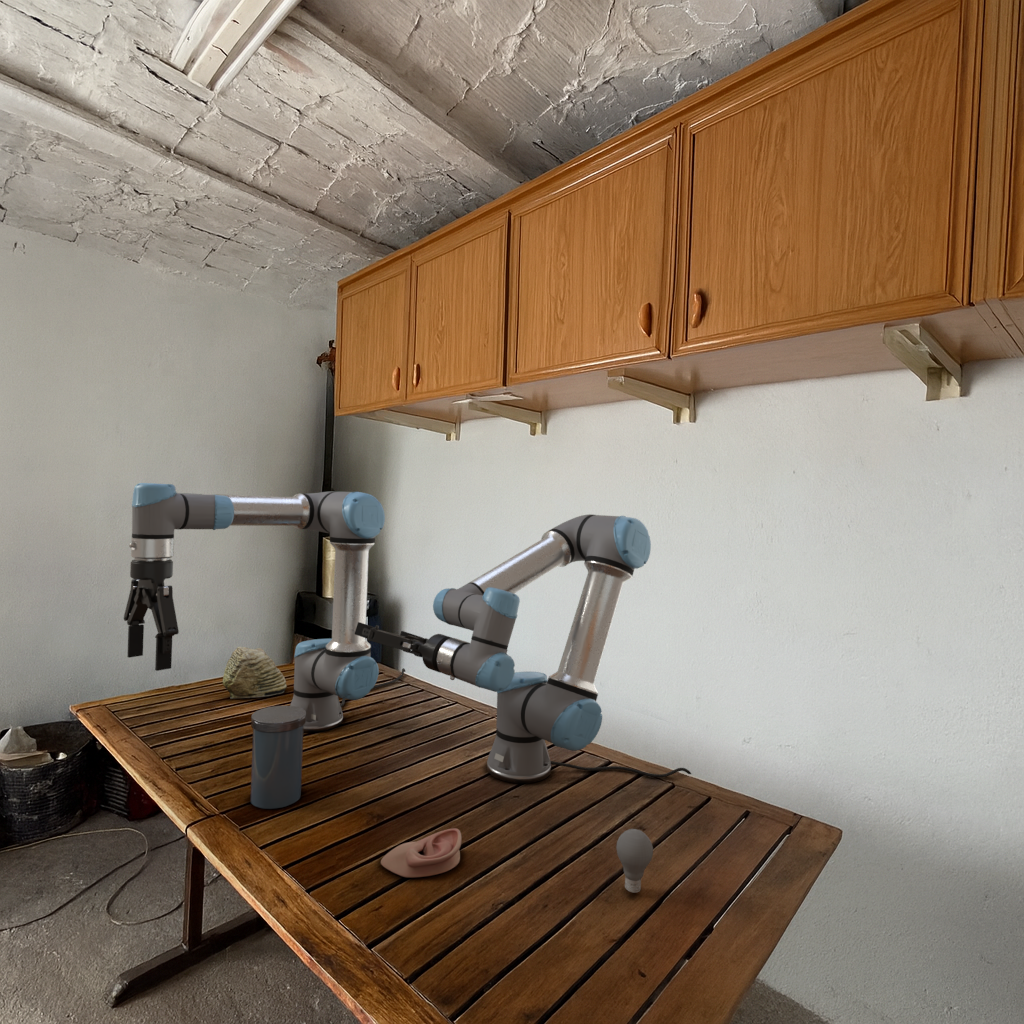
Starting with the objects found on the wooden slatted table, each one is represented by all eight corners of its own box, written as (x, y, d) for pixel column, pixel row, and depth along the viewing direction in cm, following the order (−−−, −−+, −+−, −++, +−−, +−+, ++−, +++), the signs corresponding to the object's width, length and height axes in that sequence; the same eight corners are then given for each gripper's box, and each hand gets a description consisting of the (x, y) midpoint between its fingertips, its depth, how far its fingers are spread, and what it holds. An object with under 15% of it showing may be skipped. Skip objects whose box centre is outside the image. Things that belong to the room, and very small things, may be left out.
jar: (308, 788, 137) (311, 709, 137) (289, 810, 127) (293, 725, 127) (263, 785, 138) (266, 707, 138) (241, 807, 128) (244, 722, 128)
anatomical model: (374, 849, 108) (399, 816, 119) (373, 872, 108) (398, 837, 119) (448, 861, 105) (467, 826, 116) (447, 885, 105) (466, 848, 116)
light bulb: (610, 879, 108) (613, 822, 108) (644, 879, 109) (647, 822, 109) (619, 902, 102) (622, 840, 102) (655, 901, 103) (658, 840, 103)
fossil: (218, 695, 195) (220, 647, 195) (278, 685, 208) (279, 640, 207) (228, 703, 189) (230, 653, 188) (289, 692, 201) (290, 645, 201)
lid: (313, 715, 137) (313, 707, 137) (293, 734, 127) (294, 724, 127) (264, 713, 138) (265, 704, 138) (241, 730, 127) (241, 721, 127)
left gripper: (108, 554, 134) (104, 654, 134) (159, 565, 118) (155, 678, 119) (146, 552, 140) (143, 648, 140) (199, 563, 124) (195, 671, 124)
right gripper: (400, 667, 121) (332, 641, 134) (478, 678, 140) (412, 655, 153) (411, 629, 122) (342, 607, 135) (487, 645, 142) (421, 624, 154)
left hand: (148, 662), depth 129 cm, fingers open, 13 cm apart
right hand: (379, 632), depth 144 cm, fingers open, 13 cm apart
